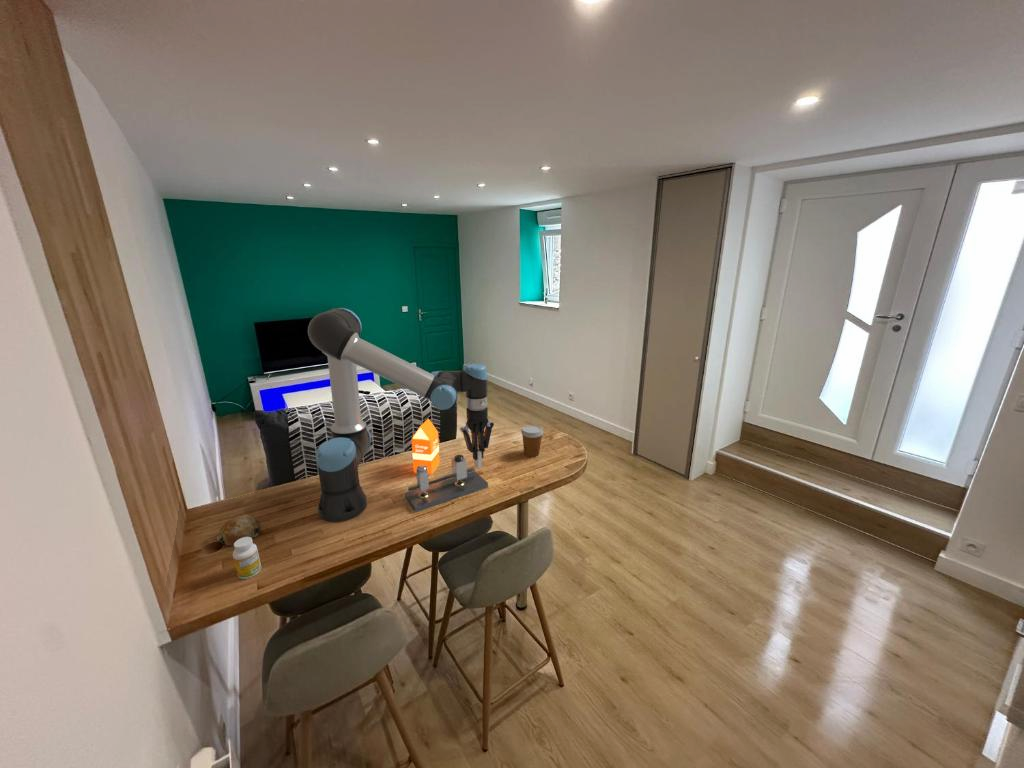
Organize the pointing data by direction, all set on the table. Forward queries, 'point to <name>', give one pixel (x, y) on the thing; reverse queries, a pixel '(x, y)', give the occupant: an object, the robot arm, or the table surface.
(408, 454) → the table surface
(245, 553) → the supplement bottle
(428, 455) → the orange juice
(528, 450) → the disposable coffee cup
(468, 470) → the plate
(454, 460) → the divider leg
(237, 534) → the bread roll
